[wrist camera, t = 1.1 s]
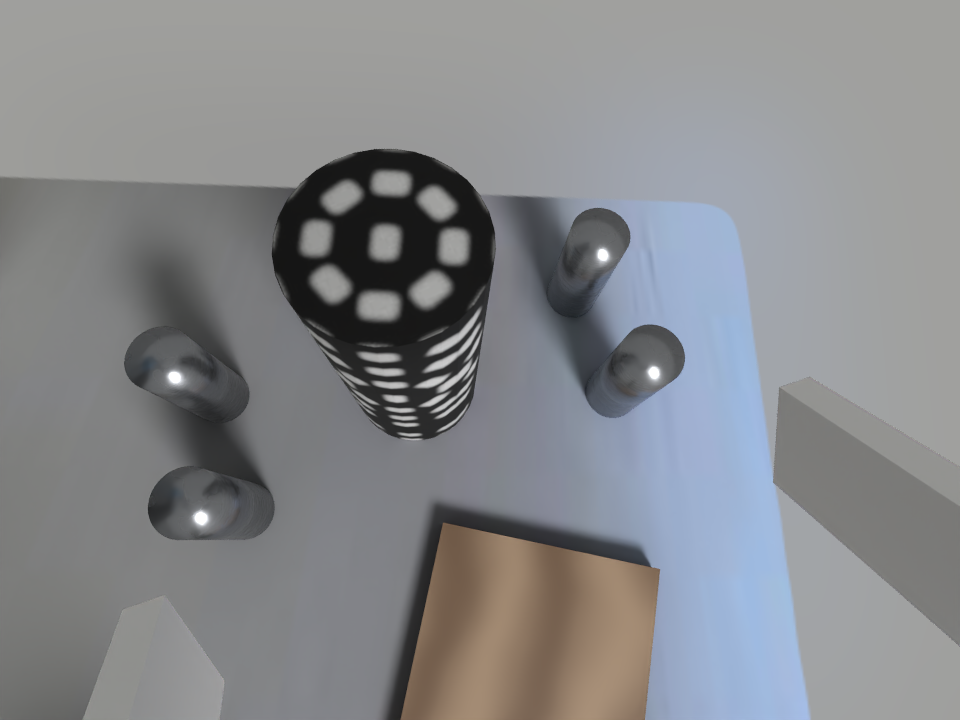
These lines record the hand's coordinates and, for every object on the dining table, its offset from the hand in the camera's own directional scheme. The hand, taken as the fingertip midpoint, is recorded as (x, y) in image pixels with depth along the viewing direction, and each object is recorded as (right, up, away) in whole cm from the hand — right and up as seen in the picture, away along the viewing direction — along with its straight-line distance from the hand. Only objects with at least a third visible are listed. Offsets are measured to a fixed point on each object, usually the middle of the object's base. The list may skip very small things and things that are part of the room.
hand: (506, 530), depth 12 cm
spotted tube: (-5, +2, +29) cm, 29 cm away
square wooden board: (+3, -15, +23) cm, 28 cm away
